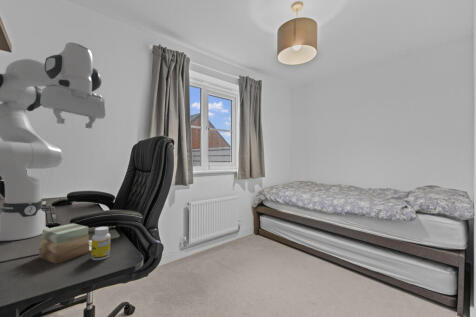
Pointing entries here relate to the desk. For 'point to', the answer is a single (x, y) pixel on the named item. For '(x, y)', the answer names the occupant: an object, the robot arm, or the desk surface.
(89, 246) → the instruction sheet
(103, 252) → the supplement bottle
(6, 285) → the desk surface
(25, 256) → the desk surface
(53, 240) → the brick tower
